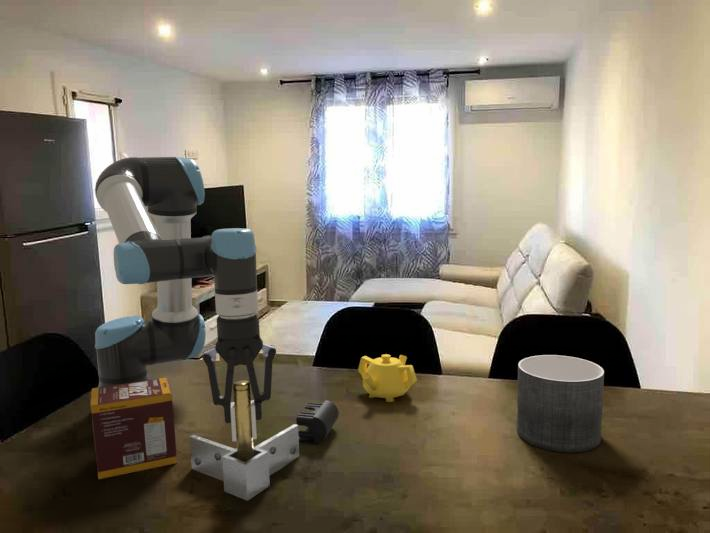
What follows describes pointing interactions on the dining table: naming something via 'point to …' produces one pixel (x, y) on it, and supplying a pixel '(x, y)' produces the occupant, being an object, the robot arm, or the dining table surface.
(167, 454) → the supplement box
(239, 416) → the hinge pin
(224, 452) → the hinge leaves
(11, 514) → the dining table surface
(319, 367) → the dining table surface
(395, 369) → the teapot
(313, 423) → the end cap
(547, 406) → the planter
